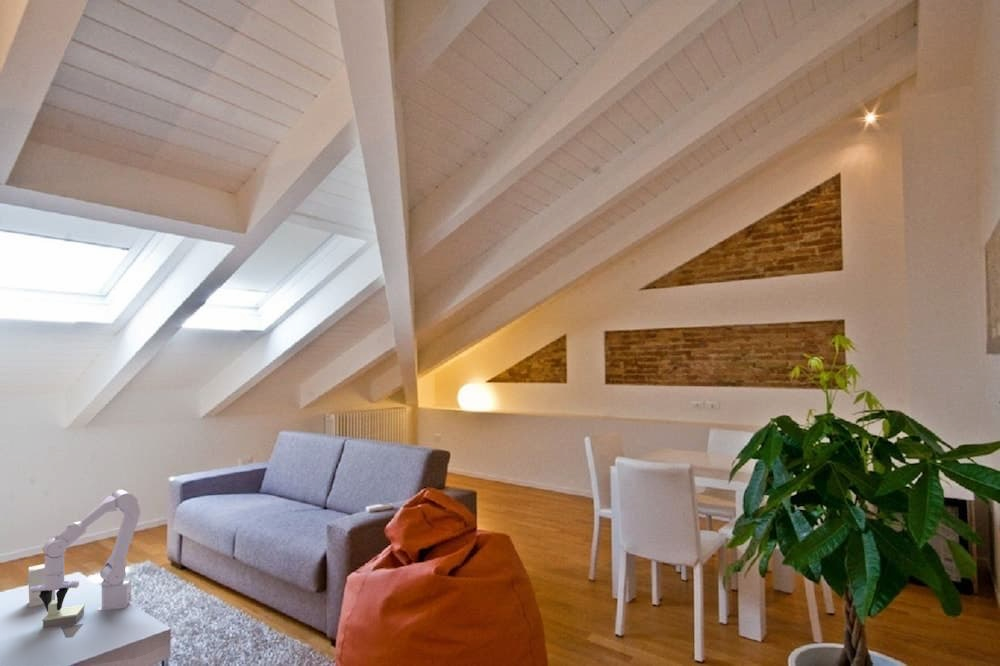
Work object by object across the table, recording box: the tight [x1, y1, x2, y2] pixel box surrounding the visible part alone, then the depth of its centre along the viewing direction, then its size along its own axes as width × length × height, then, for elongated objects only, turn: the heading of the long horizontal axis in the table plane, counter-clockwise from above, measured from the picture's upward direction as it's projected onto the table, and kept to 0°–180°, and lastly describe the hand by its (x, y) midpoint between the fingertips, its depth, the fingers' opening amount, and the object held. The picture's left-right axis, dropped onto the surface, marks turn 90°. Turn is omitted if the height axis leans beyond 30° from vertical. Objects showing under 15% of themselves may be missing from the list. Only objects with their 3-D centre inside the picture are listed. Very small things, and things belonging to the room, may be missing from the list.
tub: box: [42, 607, 85, 629], centre depth 208 cm, size 10×8×3 cm
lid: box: [41, 599, 86, 622], centre depth 208 cm, size 10×8×5 cm
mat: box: [60, 623, 84, 639], centre depth 198 cm, size 12×10×1 cm
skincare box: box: [27, 563, 56, 608], centre depth 223 cm, size 8×6×15 cm
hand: (54, 609), depth 207 cm, fingers closed on lid, 2 cm apart
